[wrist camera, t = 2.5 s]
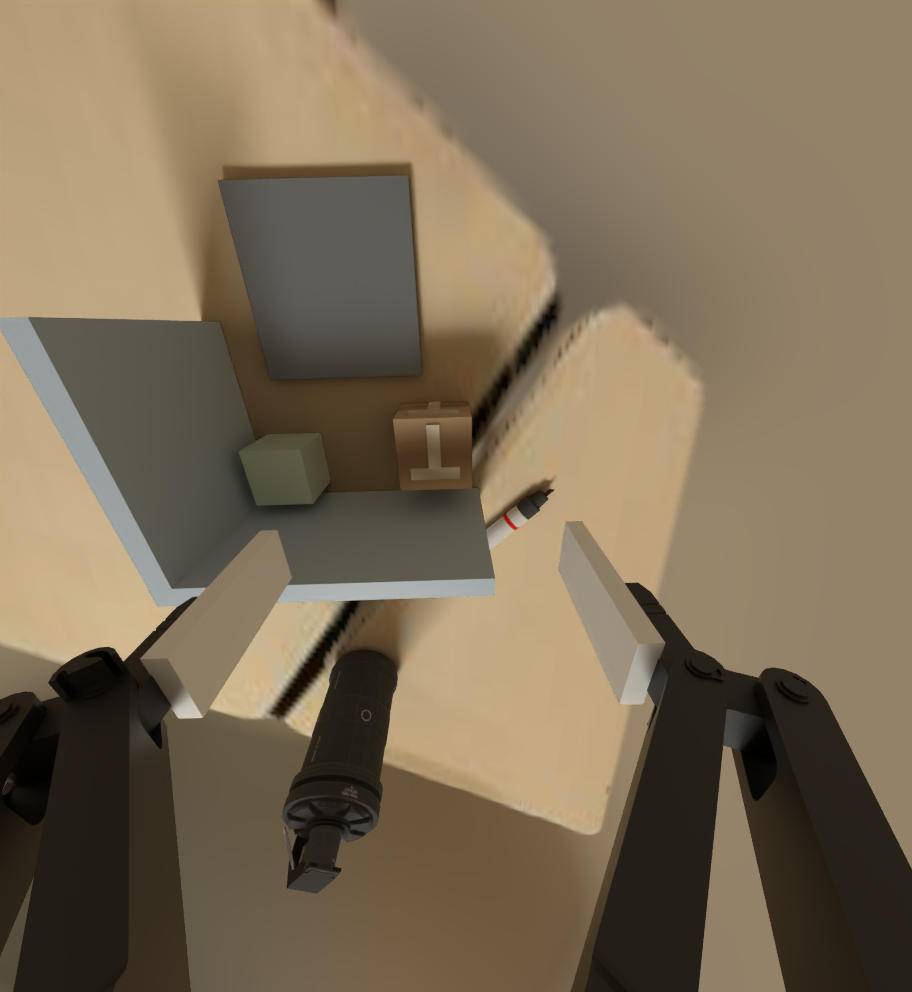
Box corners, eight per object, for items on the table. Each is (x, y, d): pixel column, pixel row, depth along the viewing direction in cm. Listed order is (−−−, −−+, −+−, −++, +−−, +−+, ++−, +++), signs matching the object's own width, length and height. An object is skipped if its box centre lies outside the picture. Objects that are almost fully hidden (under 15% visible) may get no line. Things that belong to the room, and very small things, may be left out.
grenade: (411, 661, 46) (387, 870, 29) (376, 703, 50) (336, 909, 33) (349, 637, 44) (282, 848, 26) (318, 683, 48) (240, 893, 30)
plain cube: (267, 434, 32) (238, 451, 27) (320, 432, 32) (299, 449, 27) (281, 482, 34) (256, 505, 30) (330, 480, 34) (313, 503, 30)
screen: (200, 322, 27) (-8, 318, 15) (479, 314, 28) (504, 303, 15) (261, 507, 35) (157, 606, 23) (478, 500, 35) (494, 595, 23)
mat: (224, 184, 24) (217, 180, 23) (409, 179, 24) (407, 175, 23) (274, 378, 29) (269, 379, 29) (422, 374, 30) (421, 375, 29)
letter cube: (402, 401, 31) (392, 417, 25) (467, 399, 31) (471, 414, 25) (408, 464, 33) (400, 491, 28) (468, 462, 34) (472, 489, 28)
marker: (452, 571, 40) (452, 583, 38) (440, 562, 39) (440, 573, 37) (555, 490, 35) (561, 498, 34) (544, 477, 35) (549, 486, 33)
